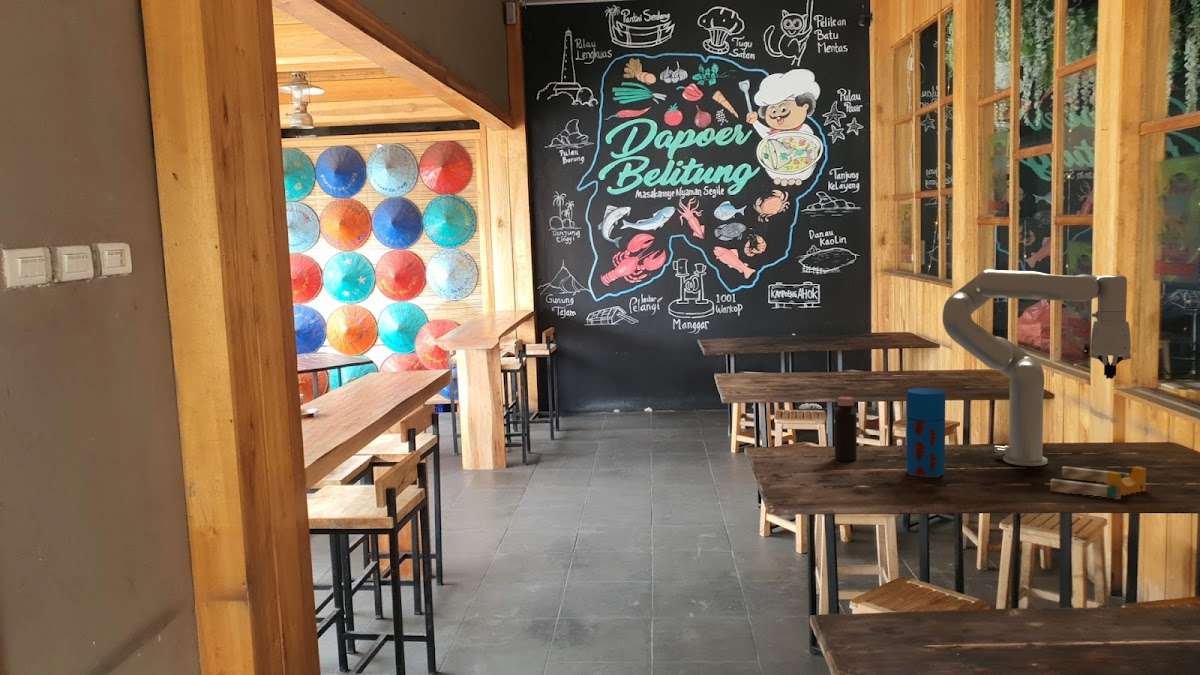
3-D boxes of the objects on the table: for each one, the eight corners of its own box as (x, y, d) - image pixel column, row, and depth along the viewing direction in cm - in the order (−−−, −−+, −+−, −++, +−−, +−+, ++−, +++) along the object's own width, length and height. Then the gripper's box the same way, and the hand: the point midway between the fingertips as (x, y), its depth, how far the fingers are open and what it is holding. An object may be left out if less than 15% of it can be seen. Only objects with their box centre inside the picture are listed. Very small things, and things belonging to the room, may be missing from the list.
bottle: (839, 455, 308) (839, 395, 306) (859, 458, 304) (859, 397, 302) (831, 460, 303) (831, 398, 300) (852, 462, 299) (851, 400, 296)
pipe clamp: (1130, 487, 262) (1131, 465, 261) (1145, 491, 258) (1145, 468, 257) (1100, 493, 257) (1101, 470, 256) (1114, 497, 253) (1115, 474, 252)
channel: (1050, 491, 261) (1050, 480, 260) (1063, 476, 275) (1063, 465, 275) (1119, 499, 251) (1120, 488, 250) (1129, 483, 265) (1129, 473, 265)
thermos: (917, 466, 291) (917, 387, 288) (950, 472, 283) (951, 390, 281) (900, 474, 283) (900, 392, 281) (934, 479, 276) (934, 395, 273)
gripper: (1081, 317, 280) (1079, 378, 282) (1138, 318, 271) (1136, 381, 273) (1085, 315, 286) (1084, 374, 288) (1142, 316, 277) (1140, 377, 279)
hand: (1109, 378), depth 281 cm, fingers closed
